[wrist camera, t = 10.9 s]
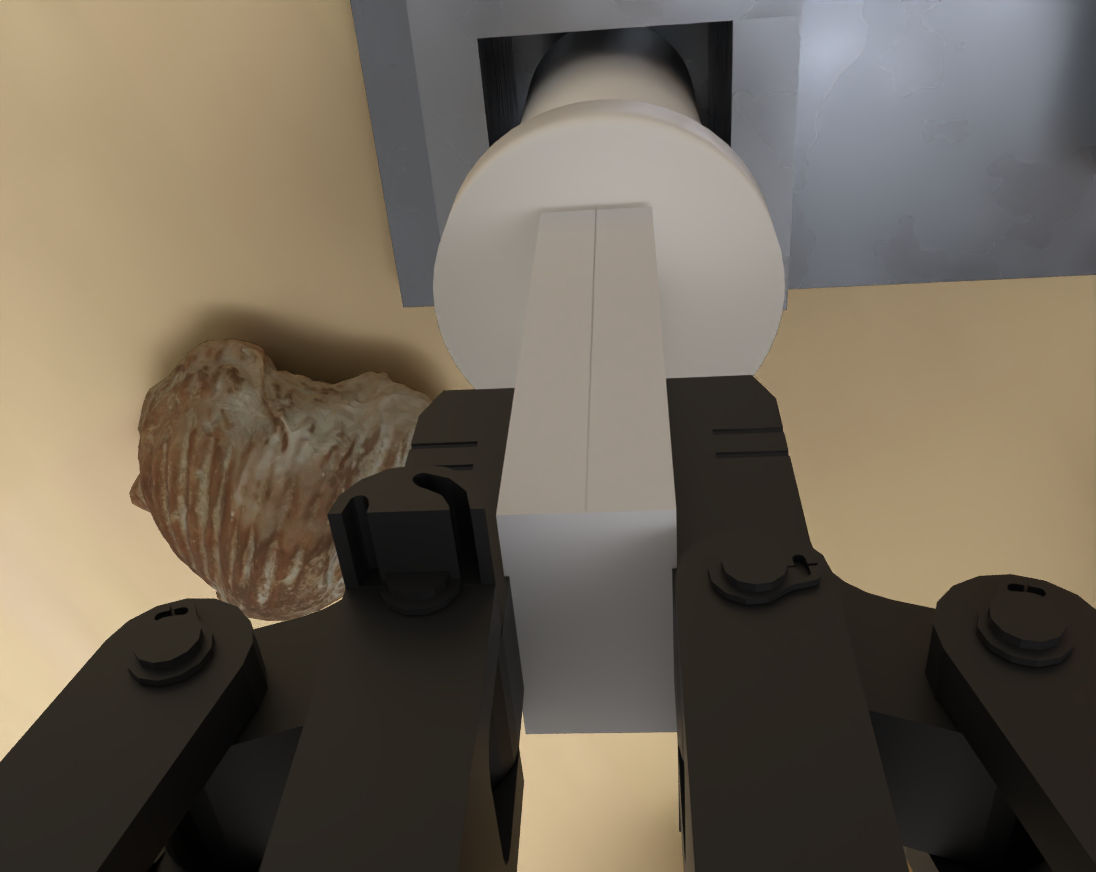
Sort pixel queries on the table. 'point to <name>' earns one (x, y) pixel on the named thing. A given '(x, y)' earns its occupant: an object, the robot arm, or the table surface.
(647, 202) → the plug
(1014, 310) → the table surface
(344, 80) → the table surface
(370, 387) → the seashell
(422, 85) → the gray socket stand
